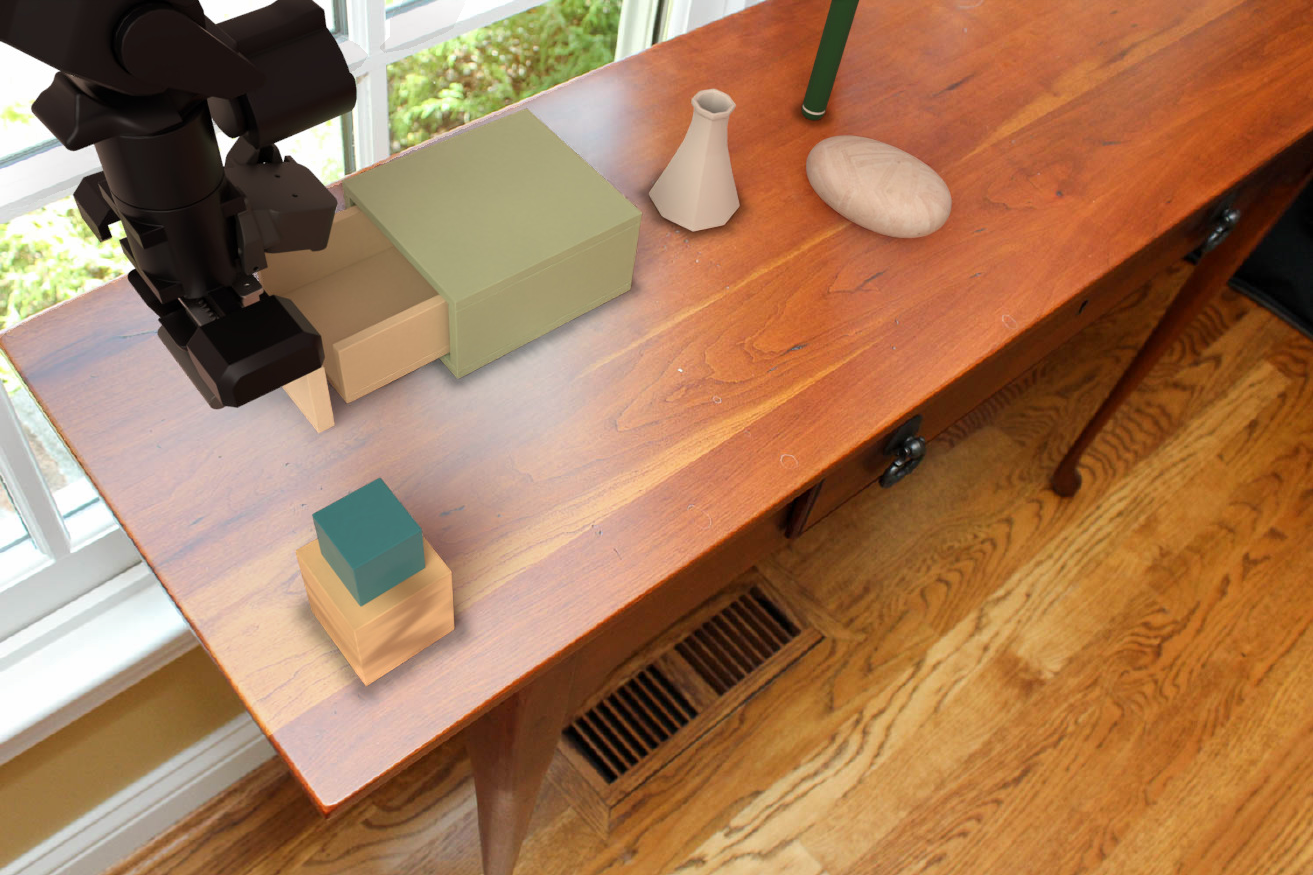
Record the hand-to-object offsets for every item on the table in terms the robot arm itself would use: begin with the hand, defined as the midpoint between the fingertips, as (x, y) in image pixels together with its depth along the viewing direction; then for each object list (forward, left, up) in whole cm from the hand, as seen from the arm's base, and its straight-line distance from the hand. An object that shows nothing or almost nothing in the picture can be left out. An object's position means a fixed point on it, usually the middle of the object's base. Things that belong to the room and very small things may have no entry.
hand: (223, 366), depth 69 cm
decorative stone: (+51, +15, -4) cm, 53 cm away
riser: (+9, -18, -3) cm, 20 cm away
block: (+9, -18, +4) cm, 20 cm away
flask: (+36, +17, -4) cm, 40 cm away
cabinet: (+19, +10, -3) cm, 21 cm away
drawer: (+7, +4, -2) cm, 8 cm away
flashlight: (+50, +28, -4) cm, 57 cm away
